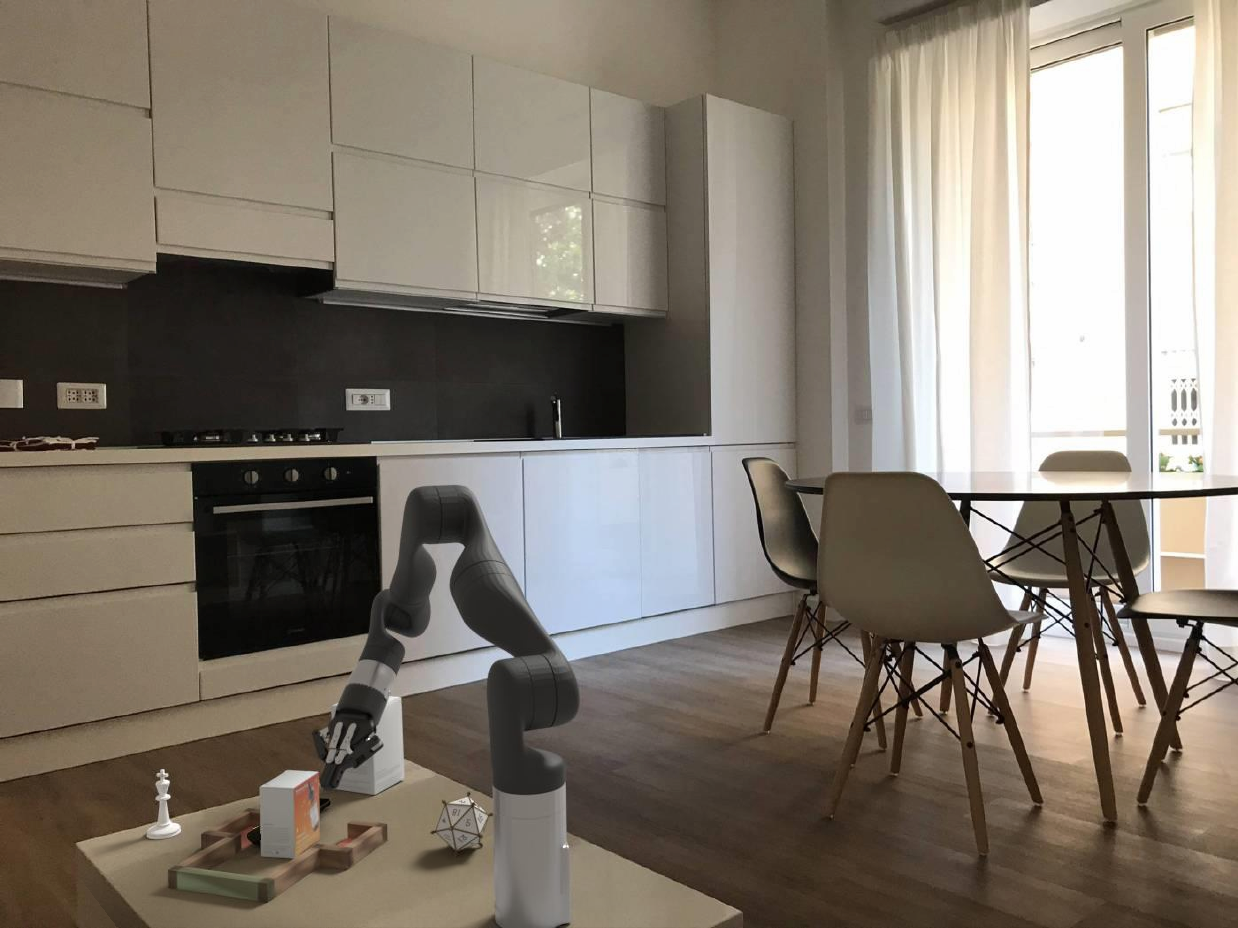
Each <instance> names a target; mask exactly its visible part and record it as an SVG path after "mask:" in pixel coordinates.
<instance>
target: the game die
mask: <svg viewBox="0 0 1238 928" xmlns="http://www.w3.org/2000/svg"><path fill="white" fill-rule="evenodd" d="M470 796H471V791H470V790H469V791H467V792H466V796H464V797H461V798H458V799H454V800H452V801H448V802H447V801H446V799H441V803H442V804H443V808H442V811H441V813H440V816H439V819H438V822H437V824H436V828H435V829H433V830H431V831H430V832H429V834H430V835H434V834H437V835H438V836H439V837H440V838H441V839H442V840H443V841H444V842H445V843H446V844H447V845H448V846H449V847H450V848H451V849H453V850H454V852H453V853H454V854H453V856H454V858H456V857H457V856H458V854H459V851H462V850H464V849H467V848H470V847H473V846H475V845H478V846H479V847H480V848H481V847H482V848H483V846H484V845H483V843H482V842H481V841H482V839H484V832H485V829H486V827H487V823H488V821H489V817H493V812H489V813H488V811H486V810H485V809H484V808H482V807H481V806H480V805H479V803H477V802H476V801H475V800H474V799H473V798H471V797H470Z"/></svg>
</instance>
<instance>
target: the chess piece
mask: <svg viewBox="0 0 1238 928" xmlns="http://www.w3.org/2000/svg"><path fill="white" fill-rule="evenodd" d="M159 771H160V772H158V773H156V777H157V778H160V780H158V781H156V782H155V787H156V789H157V793H158V795H157V796H156V797H155V801H158V802H159V810H158V816H157V817H158V818H157V822H155V825H153V826H151V827H149V828H148V829H147V831H146V837H147V839H151V840H164V839H169V838H172V837H175V836H177V835H179V834H181V832H182V829H181V824H178V823H176V822H172V820H170V815H169V810H168V809H169V808H168V803H167V802H168V801H167V800H169V799H171V795H170V794H168V793H167V792H168V790H169V789H168V788H169V786H170V783H171V782H170V780H168V779H165V778H167V777H169V773H167V772H166V773H165V769H160V770H159Z"/></svg>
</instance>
